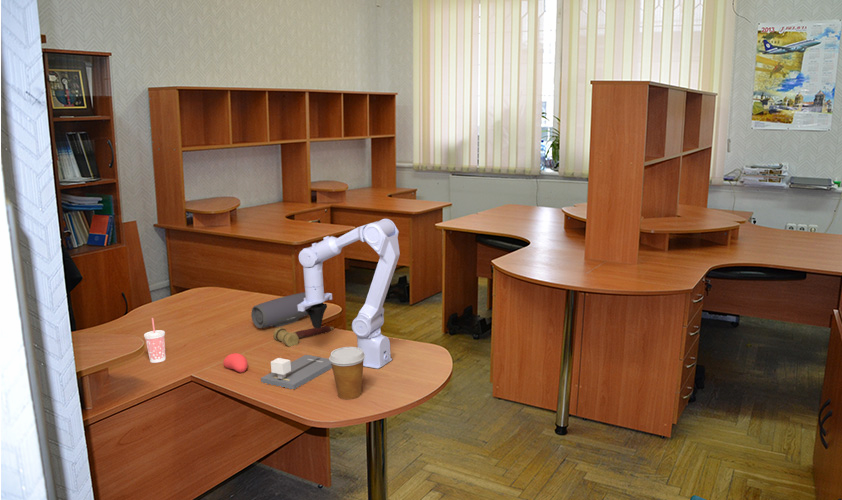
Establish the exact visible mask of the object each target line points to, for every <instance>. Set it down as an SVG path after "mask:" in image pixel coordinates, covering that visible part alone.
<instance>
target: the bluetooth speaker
mask: <svg viewBox="0 0 842 500" xmlns="http://www.w3.org/2000/svg"><path fill="white" fill-rule="evenodd" d="M304 298H306V296H305V291H303V292H299V293H294V294H290V295H285V296H281V297H278V298H276V299H275V298H274V299H272V300H268V301H267V300H266V301H265V302H262V303H259V304H256V305H253V307H252V308H251V313H250V316H251V320H252V323H253V324H254V326H255V327H256V328H257V329H264V328H270V327H273V328H280V327H284V326H288V325H291V324H294V323H296V322H299V319H301V318H303V317H306V316H309V315H308V313H307V312H306V310H305V311H303V312H302V311H298V304H300V303H302V302H303V301H304Z"/></svg>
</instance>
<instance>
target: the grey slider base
mask: <svg viewBox="0 0 842 500" xmlns="http://www.w3.org/2000/svg"><path fill="white" fill-rule="evenodd" d="M290 363H291V371H290V372H288V373H286V377H285V378H283V379H279V378H278V374H277V373H272V371H271V372H270V373H267V374H266V375H264V376H262V377H260V381H261V382H263V383H262V384H264V383H267V384H266V385H269V384H271V386H273V385H276V386H275V387H278V386H281V387H280V388H282V387H285V388H284V389H287V388H289V390H291V389H295V390H296V388H297V387H298V388H300V387H302V386H304V385H305V384H307V383H309V382H311V381H312V380H314V379H315V378H317V377H319V376H321V375H323V374H324V373H326V372H328V371H330V370H331V369H332V364H331V362H330V360H329V358H327V357H321V356H315V355H311V354H304V355H302V356H301V357H299V358H296V359H295V360H293V361H290ZM308 381H309V382H308ZM301 385H302V386H301ZM299 386H300V387H299ZM298 388H297V389H298Z"/></svg>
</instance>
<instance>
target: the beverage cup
mask: <svg viewBox="0 0 842 500" xmlns="http://www.w3.org/2000/svg"><path fill="white" fill-rule="evenodd" d="M154 321H155V320H154V317H151V324H152V330H151V331H150V330H149V331H148V332H144V334H143V336H144V339H145V342H146V347H147V352H148V357H149V362H150V363H153V364H154V363H160V362H161V363H163V362H164V361H166V343H165V341H166V340H165V335H166V332H165V330H164V329H163V330H161V329H160V330H159V329H158V330H157V329H155V322H154Z"/></svg>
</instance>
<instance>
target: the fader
mask: <svg viewBox="0 0 842 500" xmlns="http://www.w3.org/2000/svg"><path fill="white" fill-rule="evenodd" d="M270 367H271V368H270V370H271V372H272V373H277V374H278V378H279V379H283V378H285V377H286V373H288V372H290V371H291V359H287V358H286V359H285V358H282V357H277V358H274V360H271V361H270Z"/></svg>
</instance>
